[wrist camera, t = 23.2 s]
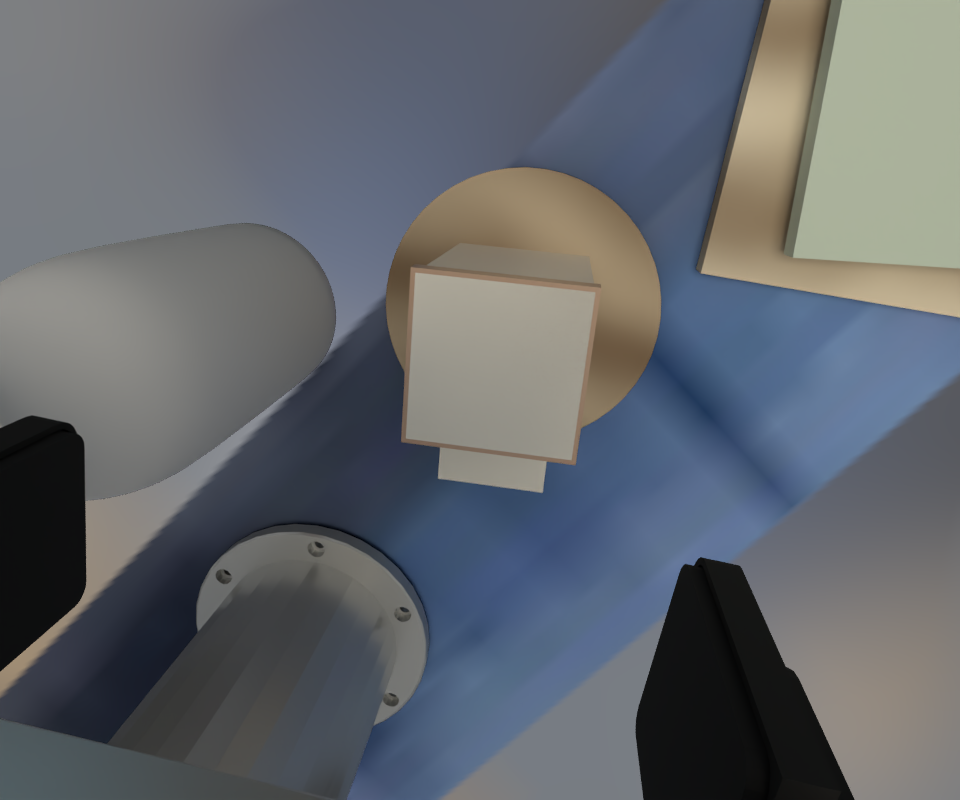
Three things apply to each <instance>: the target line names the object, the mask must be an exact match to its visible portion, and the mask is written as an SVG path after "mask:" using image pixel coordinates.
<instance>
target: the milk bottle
mask: <svg viewBox="0 0 960 800" xmlns="http://www.w3.org/2000/svg"><path fill="white" fill-rule="evenodd" d="M335 324H336V309H335V301H334V297H333V293H332V289H331V286H330V284H329V281H328V279H327V277H326V275H325V273H324V271H323V269H322V268H321V266H320V265H319V263H318V262H317V261H316V260H315V258H314V257H313V256H312V255H311V253H310V252H309V251H308V250H307V249H306V248H305V247H303V246H302V245H301V244H300V243H299V242H297V241H296V240H295V239H293V238H292V237H290V236H289V235H287V234H285V233H283V232H281V231H279V230H277V229H274V228H271V227H268V226H264V225H259V224H251V223H242V224H227V225H222V226H215V227H209V228H202V229H196V230H190V231H184V232H178V233H172V234H165V235H159V236H153V237H148V238H143V239H137V240H131V241H126V242H120V243H116V244H115V243H114V244H109V245H103V246H99V247H94V248H90V249H85V250H81V251H77V252H73V253H68V254H64V255H61V256H57V257H53V258H51V259H48V260H45V261H43V262H40V263H38V264H35V265H33V266H30V267H28V268H25V269H23V270H21V271H20V272H18V273H16V274H14V275H12V276H10V277H9V278H7V279H5V280H3V281H1V282H0V428H1V427H4V426H6V425H8V424H10V423H13V422H15V421H17V420H20V419H22V418H24V417H27V416H31V415H33V416H38V417H43V418H48V419H52V420H57V421H62V422H66V423H70V424H71V425H72V426H74V428H75V430H76V432H77V434H79V435H80V436H81V437H82V438H83V440H84V446H85V501H87V500H97V499H105V498H111V497H115V496H120V495H124V494H128V493H131V492H134V491H138V490H140V489H143V488H146V487H149V486H151V485H154V484H156V483H158V482H160V481H162V480H164V479H166V478H168V477H170V476H172V475H174V474H176V473H178V472H180V471H181V470H183V469H185V468H186V467H187V466H189V465H191V464H192V463H193V462H195V461H196V460H198V459H199V458H201V457H202V456H204V455H205V454H207V453H208V452H210V451H211V450H212V449H214V448H215V447H217V446H218V445H219V444H220V443H222V442H223V441H224V440H226V439H227V438H228V437H230V436H231V435H232V434H234V433H235V432H236V431H238V430H239V429H240V428H242V427H243V426H244V425H246V424H247V423H248V422H250V421H251V420H252V419H254V418H255V417H256V416H257V415H259V414H260V413H261V412H263V411H264V410H265V409H267V408H268V407H269V406H270V405H272V404H273V403H274V402H276V401H277V400H278V399H279V398H281V397H282V396H283V395H284V394H286V393H287V392H288V391H290V390H291V389H292V388H293V387H295V386H296V385H297V384H298V383H300V382H301V381H302V380H303V379H305V378H306V377H307V376H308V375H309V374H310V373H311V372H312V371H313V370H314V369H315V368H317V366H318V365H319V364H320V363H321V362H322V360H323V359H324V357H325V356H326V354H327V352H328V350H329V348H330V345H331V343H332V340H333V336H334V331H335Z"/></svg>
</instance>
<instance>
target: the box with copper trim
mask: <svg viewBox="0 0 960 800" xmlns="http://www.w3.org/2000/svg"><path fill="white" fill-rule="evenodd" d="M600 294H601V284H594V280H593V275H592V269H591V263H590V258H589V256H580V255H571V254H561V253H552V252H542V251H533V250H523V249H514V248H504V247H494V246H485V245H475V244H466V243H459V244H458V245H456V246H455V247H453V248H452V249H450V250H449V251H447V252H446V253H444V254H443V255H441V256H440V257H438V258H437V259H435V260H434V261H432V262H431V263H429V264H428V265H419V264H415V265H413V266H412V267H411V272H410V290H409V308H408V326H407V344H406V362H405V380H404V398H403V416H402V434H401V442H404V443H412V444H419V445H427V446H434V447H440V458H439V471H438V479H445V480H453V481H460V482H467V483H475V484H482V485H489V486H497V487H504V488H511V489H518V490H526V491H533V492H540V493H543V486H544V478H545V470H546V463H547V462H555V463H562V464H570V465H576V459H577V452H578V445H579V438H580V431H581V424H582V417H583V411H584V404H585V397H586V390H587V383H588V376H589V369H590V362H591V356H592V349H593V342H594V335H595V328H596V321H597V314H598V308H599V301H600Z"/></svg>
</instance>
